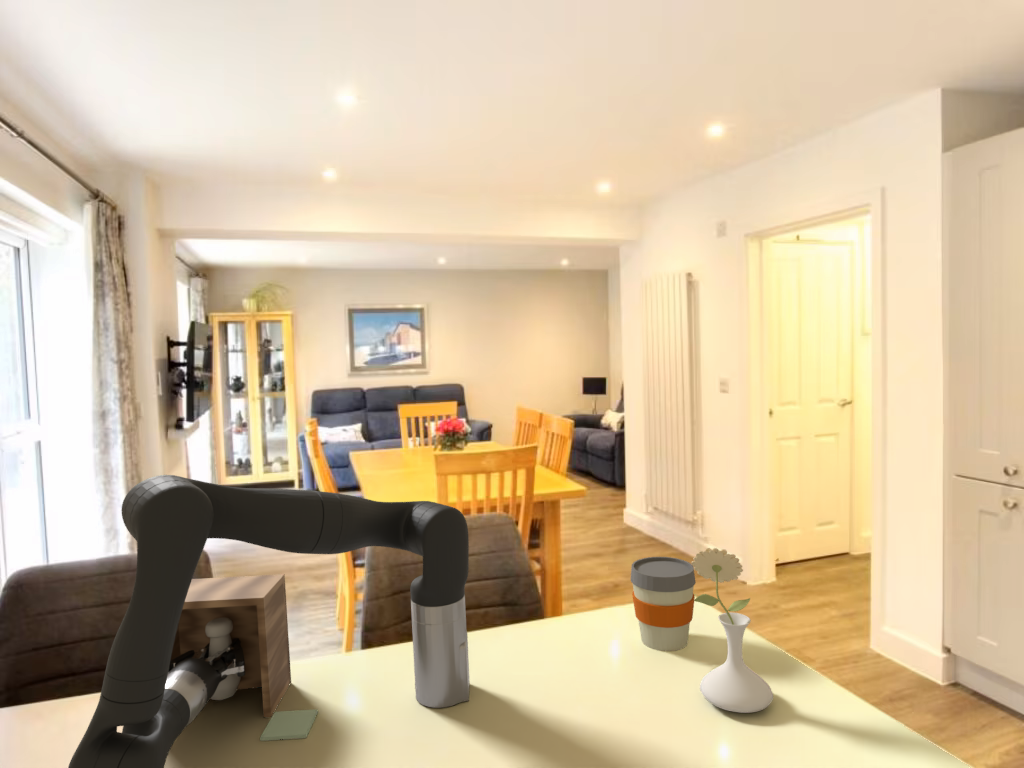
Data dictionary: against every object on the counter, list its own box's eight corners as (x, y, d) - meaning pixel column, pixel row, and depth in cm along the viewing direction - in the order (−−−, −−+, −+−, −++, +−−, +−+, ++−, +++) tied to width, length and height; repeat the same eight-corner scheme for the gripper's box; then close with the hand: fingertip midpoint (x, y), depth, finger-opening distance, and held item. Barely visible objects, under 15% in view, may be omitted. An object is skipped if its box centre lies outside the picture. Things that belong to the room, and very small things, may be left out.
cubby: (291, 682, 117) (284, 574, 116) (271, 717, 106) (263, 597, 105) (179, 689, 117) (171, 580, 116) (147, 724, 106) (138, 604, 105)
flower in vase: (784, 697, 106) (781, 548, 105) (756, 729, 98) (753, 568, 96) (709, 672, 115) (706, 535, 114) (678, 700, 107) (674, 551, 105)
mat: (317, 712, 107) (317, 709, 107) (306, 738, 100) (305, 734, 100) (275, 715, 107) (275, 711, 107) (260, 740, 100) (260, 737, 100)
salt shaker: (227, 704, 108) (222, 628, 107) (197, 702, 109) (192, 626, 109) (248, 686, 114) (243, 614, 113) (219, 684, 115) (214, 612, 114)
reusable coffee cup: (708, 637, 129) (706, 563, 128) (678, 662, 119) (676, 582, 118) (651, 621, 137) (649, 552, 136) (620, 643, 128) (618, 569, 127)
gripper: (226, 668, 97) (265, 620, 114) (131, 674, 96) (185, 625, 114) (229, 717, 97) (268, 662, 114) (134, 723, 97) (188, 667, 114)
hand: (226, 644), depth 114 cm, fingers closed on salt shaker, 3 cm apart
